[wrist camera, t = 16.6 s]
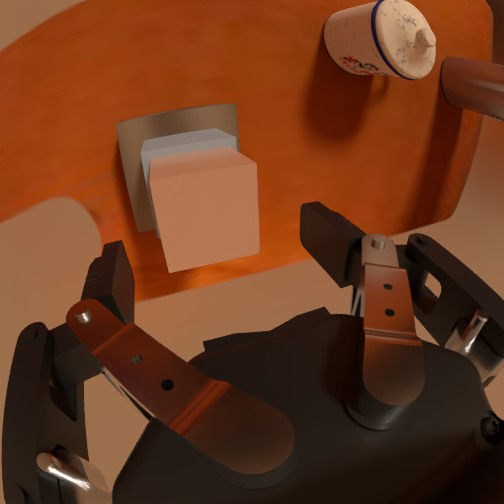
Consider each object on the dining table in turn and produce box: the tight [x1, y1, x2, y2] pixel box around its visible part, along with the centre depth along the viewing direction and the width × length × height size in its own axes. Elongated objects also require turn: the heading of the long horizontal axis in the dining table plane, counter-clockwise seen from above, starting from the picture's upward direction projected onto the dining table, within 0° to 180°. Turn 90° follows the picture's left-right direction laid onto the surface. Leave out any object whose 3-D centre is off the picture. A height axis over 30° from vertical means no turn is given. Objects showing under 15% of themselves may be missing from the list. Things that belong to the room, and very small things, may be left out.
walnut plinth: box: [116, 103, 240, 233], centre depth 24 cm, size 10×10×4 cm
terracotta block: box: [149, 147, 260, 273], centre depth 15 cm, size 5×5×5 cm
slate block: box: [141, 128, 237, 239], centre depth 20 cm, size 6×6×6 cm
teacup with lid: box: [324, 0, 436, 80], centre depth 19 cm, size 12×9×12 cm
